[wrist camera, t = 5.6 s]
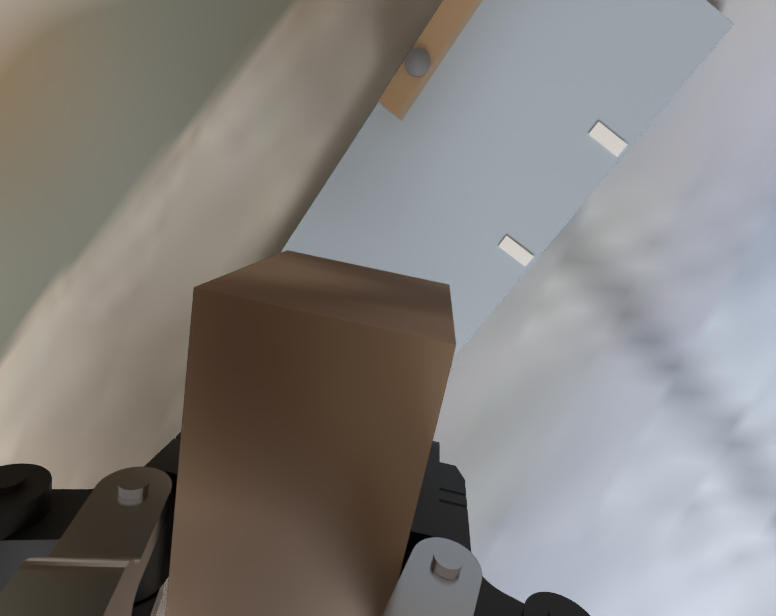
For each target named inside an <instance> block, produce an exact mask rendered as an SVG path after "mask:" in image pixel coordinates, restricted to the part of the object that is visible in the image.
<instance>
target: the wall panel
mask: <svg viewBox="0 0 776 616" xmlns="http://www.w3.org/2000/svg"><path fill="white" fill-rule="evenodd" d="M733 25H734V23H733V22H732V21H731V20H729V19H728V18H727V17H726V16H725V15H723V14H722V13H721V12H720V11H719V10H717V9H716V8H715V7H714V6H713V5H711V4H710V3H709V2H708V1H707V0H443V1H442V3H441V4H440V6H439V7H438V9H437V10H436V12H435V13H434V15H433V16H432V18H431V20H430V21H429V23H428V24H427V26H426V27H425V29H424V30H423V32H422V33H421V35H420V37H419V38H418V40H417V41H416V43H415V44H414V46H413V47H412V49H411V50H410V51H409V52H408V53H407V55H406V57H405V60H404V61H403V63H402V64H401V66H400V67H399V69H398V70H397V72H396V73H395V75H394V77H393V78H392V80H391V81H390V83H389V84H388V86H387V87H386V89H385V90H384V92H383V93H382V95H381V97H380V98H379V100H378V101H379V102H378V103H377V105H376V106H375V108H374V110H373V111H372V113H371V114H370V116H369V117H368V119H367V120H366V122H365V123H364V125H363V126H362V128H361V130H360V131H359V133H358V134H357V136H356V137H355V139H354V140H353V142H352V143H351V145H350V146H349V148H348V149H347V151H346V153H345V154H344V156H343V157H342V159H341V160H340V162H339V163H338V165H337V166H336V168H335V169H334V171H333V173H332V174H331V176H330V177H329V179H328V180H327V182H326V183H325V185H324V186H323V188H322V189H321V191H320V193H319V194H318V196H317V197H316V199H315V200H314V202H313V203H312V205H311V206H310V208H309V209H308V211H307V213H306V214H305V216H304V217H303V219H302V220H301V222H300V223H299V225H298V226H297V228H296V229H295V231H294V233H293V234H292V236H291V237H290V239H289V240H288V242H287V243H286V245H285V246H284V248H283V249H282V251H281V253H282V252H284V251H287V250H289V251H294V252H298V253H303V254H308V255H312V256H317V257H322V258H327V259H331V260H336V261H341V262H346V263H350V264H355V265H360V266H364V267H369V268H374V269H379V270H383V271H388V272H393V273H397V274H402V275H407V276H412V277H416V278H421V279H426V280H430V281H435V282H440V283H445V284H449V285H450V294H451V303H452V312H453V321H454V329H455V338H456V348H455V352H454V356H453V358H454V357H455V355H456V354H457V353H458V352H459V351H460V349H461V348H462V347H463V346H464V345H465V344H466V342H467V341H468V340H469V339H470V338H471V336H472V335H473V334H474V333H475V332H476V330H477V329H478V328H479V327H480V326H481V325H482V323H483V322H484V321H485V320H486V319H487V317H488V316H489V315H490V314H491V313H492V311H493V310H494V309H495V308H496V307H497V306H498V304H499V303H500V302H501V301H502V300H503V298H504V297H505V296H506V295H507V294H508V292H509V291H510V290H511V289H512V288H513V287H514V285H515V284H516V283H517V282H518V281H519V279H520V278H521V277H522V276H523V275H524V273H525V272H526V271H527V270H528V269H529V268H530V266H531V265H532V264H533V263H534V262H535V260H536V259H537V258H538V257H539V256H540V254H541V253H542V252H543V251H544V250H545V249H546V247H547V246H548V245H549V244H550V243H551V241H552V240H553V239H554V238H555V237H556V235H557V234H558V233H559V232H560V231H561V230H562V228H563V227H564V226H565V225H566V224H567V222H568V221H569V220H570V219H571V218H572V216H573V215H574V214H575V213H576V212H577V211H578V209H579V208H580V207H581V206H582V205H583V203H584V202H585V201H586V200H587V199H588V197H589V196H590V195H591V194H592V193H593V192H594V190H595V189H596V188H597V187H598V186H599V184H600V183H601V182H602V181H603V180H604V178H605V177H606V176H607V175H608V174H609V173H610V171H611V170H612V169H613V168H614V167H615V165H616V164H617V163H618V162H619V161H620V159H621V158H622V157H623V156H624V155H625V153H626V152H627V151H628V150H629V149H630V148H631V146H632V145H633V144H634V143H635V142H636V140H637V139H638V138H639V137H640V136H641V134H642V133H643V132H644V131H645V130H646V129H647V127H648V126H649V125H650V124H651V123H652V121H653V120H654V119H655V118H656V117H657V115H658V114H659V113H660V112H661V111H662V110H663V108H664V107H665V106H666V105H667V104H668V102H669V101H670V100H671V99H672V98H673V96H674V95H675V94H676V93H677V92H678V91H679V89H680V88H681V87H682V86H683V85H684V83H685V82H686V81H687V80H688V79H689V77H690V76H691V75H692V74H693V73H694V72H695V70H696V69H697V68H698V67H699V66H700V64H701V63H702V62H703V61H704V60H705V58H706V57H707V56H708V55H709V54H710V53H711V51H712V50H713V49H714V48H715V47H716V45H717V44H718V43H719V42H720V41H721V39H722V38H723V37H724V36H725V35H726V34H727V32H728V31H729V30H730V29H731V28H732V26H733Z"/></svg>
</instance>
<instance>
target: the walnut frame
mask: <svg viewBox="0 0 776 616" xmlns="http://www.w3.org/2000/svg"><path fill="white" fill-rule="evenodd" d="M455 348H456V338H455V329H454V321H453V312H452V303H451V294H450V285H449V284H445V283H440V282H435V281H430V280H426V279H421V278H416V277H412V276H407V275H402V274H397V273H393V272H388V271H383V270H379V269H374V268H369V267H364V266H360V265H355V264H350V263H346V262H341V261H336V260H331V259H327V258H322V257H317V256H312V255H308V254H303V253H298V252H294V251H289V250H287V251H284V252H282V253H279V254H277V255H274V256H272V257H269V258H267V259H264V260H262V261H259V262H257V263H254V264H251V265H249V266H246V267H244V268H241V269H239V270H236V271H234V272H231V273H229V274H226V275H224V276H221V277H219V278H216V279H214V280H211V281H209V282H206V283H204V284H201V285H199V286H196V287H194V291H193V303H192V314H191V326H190V337H189V349H188V360H187V372H186V384H185V395H184V407H183V418H182V430H181V441H180V453H179V465H178V476H177V488H176V499H175V511H174V523H173V534H172V546H171V557H170V569H169V580H168V592H167V604H166V615H165V616H382V615H383V613H384V611H385V608H386V606H387V604H388V602H389V600H390V598H391V596H392V593H393V591H394V589H395V587H396V585H397V583H398V579H399V575H400V571H401V567H402V563H403V559H404V555H405V551H406V547H407V542H408V538H409V534H410V530H411V526H412V522H413V518H414V514H415V510H416V506H417V502H418V498H419V494H420V490H421V486H422V482H423V478H424V474H425V469H426V465H427V461H428V457H429V453H430V449H431V445H432V441H433V437H434V433H435V429H436V425H437V421H438V417H439V413H440V409H441V405H442V400H443V396H444V392H445V388H446V384H447V380H448V376H449V372H450V368H451V364H452V360H453V356H454V352H455Z"/></svg>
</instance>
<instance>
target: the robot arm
mask: <svg viewBox="0 0 776 616" xmlns="http://www.w3.org/2000/svg"><path fill="white" fill-rule="evenodd" d="M180 441H181V432H180V433H179V434H178V435H177V436H176V439H173V440H172V441H171V442H170V443H169V444H168V445H167V446H166V447H165V448H163V449H162V450H161V451H160V452H159V453H158V454H157V455H156V456H155V457H154V458H153V459H152V460H151V461H150V462H149V463H147V464H146V465H145V466H144V467H131V468H126V469H122V470H119V471H116V472H114V473H112V474H109V475H108V476H106V477H105V478H103V479H102V480H101V481H100V482H99V483H98V484H97V485H96V487H95V488H94V489H52V477H51V474H50V472H49V471H48V470H47V469H45V468H43V467H41V466H38V465H33V464H10V465H4V466H0V616H156V613H157V610H158V607H159V605H160V602H161V599H162V595H163V588H164V582H165V581H166V579H167V578H168V576H169V569H170V557H171V546H172V534H173V523H174V511H175V499H176V488H177V476H178V465H179V453H180ZM382 616H590V615H589V614H588V613H587V612H586V611H585V610H584V609H583V608H582V607H580V606H579V605H578V604H576V603H575V602H573V601H572V600H570V599H568V598H566V597H564V596H562V595H559V594H556V593H551V592H538V593H535V594H532V595H531V596H530V597H528V599H527V600H526V602H525V604H524V603H522V602H520V601H518V600H516V599H514V598H512V597H510V596H508V595H507V594H505V593H503V592H501V591H500V590H498V589H496V588H495V587H494V586H492V585H491V584H490V583H489V582H488V581H486V580H485V578H484V577H483V576H482V570H481V567H480V564H479V562H478V560H477V559H476V558H475V556H474V555H473V554H472V553H471V545H470V534H469V523H468V511H467V500H466V488H465V480H464V478H463V476H462V475H461V473H460V472H459V470H458V469H457V467H456V466H454V465H449V464H445V463H441V462H439V442H435V441H432V445H431V449H430V453H429V457H428V461H427V465H426V469H425V474H424V478H423V482H422V486H421V490H420V494H419V498H418V502H417V506H416V510H415V514H414V518H413V522H412V526H411V530H410V534H409V538H408V542H407V547H406V551H405V555H404V559H403V563H402V567H401V571H400V575H399V579H398V583H397V585H396V587H395V589H394V591H393V593H392V596H391V598H390V600H389V602H388V604H387V606H386V608H385V611H384V613H383V615H382Z"/></svg>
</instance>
